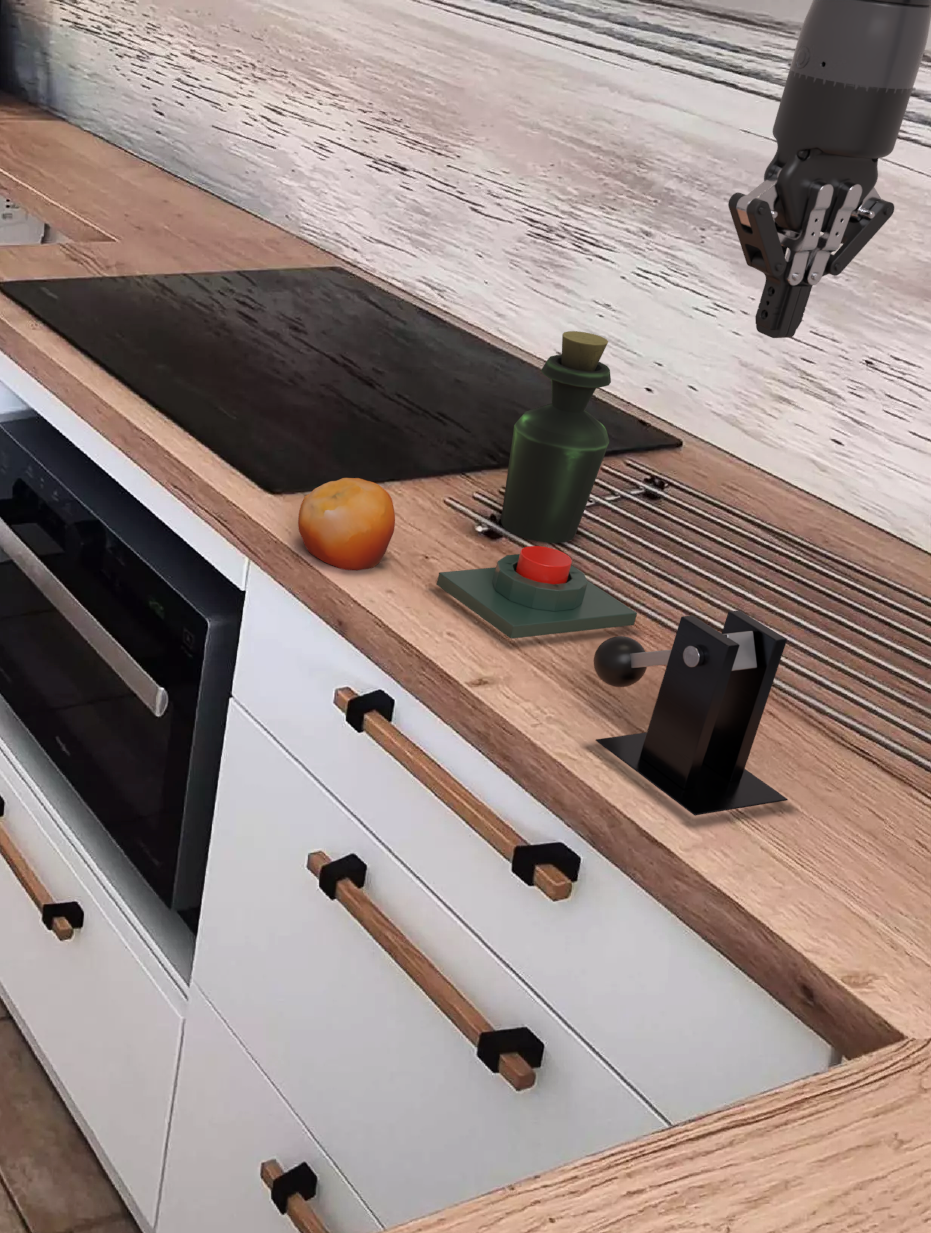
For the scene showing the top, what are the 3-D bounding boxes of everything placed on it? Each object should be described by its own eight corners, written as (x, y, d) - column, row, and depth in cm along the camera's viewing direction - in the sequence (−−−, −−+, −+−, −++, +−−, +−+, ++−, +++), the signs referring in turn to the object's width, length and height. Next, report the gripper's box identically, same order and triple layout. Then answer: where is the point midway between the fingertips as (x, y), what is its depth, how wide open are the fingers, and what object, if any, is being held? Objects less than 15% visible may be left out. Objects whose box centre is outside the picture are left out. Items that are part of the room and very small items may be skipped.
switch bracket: (590, 754, 123) (634, 599, 118) (680, 741, 126) (727, 590, 121) (689, 830, 115) (741, 668, 110) (783, 814, 118) (838, 656, 113)
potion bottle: (596, 535, 161) (648, 341, 152) (562, 559, 155) (613, 358, 146) (512, 508, 165) (558, 318, 156) (475, 530, 159) (521, 334, 150)
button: (545, 563, 144) (550, 543, 143) (577, 584, 140) (582, 564, 140) (505, 567, 142) (510, 547, 141) (536, 588, 139) (541, 568, 138)
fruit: (428, 554, 149) (406, 482, 144) (355, 609, 147) (330, 539, 142) (367, 518, 155) (343, 448, 150) (297, 570, 153) (271, 501, 148)
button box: (552, 585, 149) (563, 541, 147) (630, 637, 141) (643, 591, 139) (433, 596, 145) (443, 551, 143) (507, 651, 137) (519, 604, 135)
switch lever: (585, 690, 126) (579, 640, 126) (625, 685, 128) (620, 635, 128) (724, 681, 114) (717, 625, 114) (766, 675, 115) (760, 620, 115)
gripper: (818, 80, 109) (738, 354, 117) (972, 86, 114) (886, 349, 122) (732, 58, 115) (662, 320, 123) (882, 65, 120) (805, 316, 128)
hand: (774, 334), depth 123 cm, fingers closed
